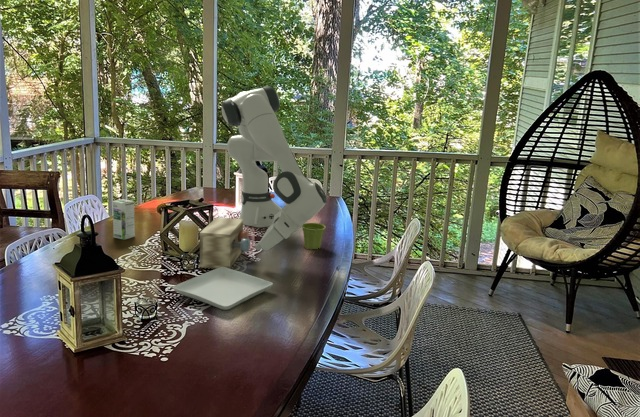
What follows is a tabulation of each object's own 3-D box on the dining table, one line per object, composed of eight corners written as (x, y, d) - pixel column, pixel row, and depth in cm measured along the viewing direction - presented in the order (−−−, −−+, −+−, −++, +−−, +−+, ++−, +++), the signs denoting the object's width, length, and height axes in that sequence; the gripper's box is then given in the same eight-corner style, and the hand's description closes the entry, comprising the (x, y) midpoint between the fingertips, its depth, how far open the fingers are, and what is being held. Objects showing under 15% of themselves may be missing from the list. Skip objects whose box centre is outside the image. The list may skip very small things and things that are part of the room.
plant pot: (327, 246, 192) (329, 224, 190) (319, 252, 184) (321, 230, 182) (305, 242, 195) (306, 221, 193) (296, 249, 187) (297, 227, 185)
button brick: (227, 243, 173) (227, 231, 172) (230, 240, 177) (230, 228, 176) (245, 245, 172) (245, 233, 171) (248, 241, 177) (248, 229, 176)
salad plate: (226, 317, 129) (226, 305, 128) (170, 296, 139) (170, 285, 139) (274, 292, 146) (275, 282, 145) (222, 275, 157) (222, 265, 156)
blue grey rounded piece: (227, 252, 164) (227, 239, 163) (230, 248, 168) (231, 235, 167) (247, 253, 164) (247, 241, 163) (250, 249, 168) (250, 237, 167)
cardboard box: (199, 267, 162) (199, 232, 159) (216, 248, 182) (216, 217, 179) (229, 269, 162) (229, 234, 159) (242, 250, 181) (243, 219, 178)
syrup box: (113, 237, 187) (111, 201, 184) (125, 234, 193) (123, 198, 189) (123, 240, 185) (122, 203, 182) (135, 236, 190) (134, 200, 187)
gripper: (284, 208, 172) (256, 232, 175) (275, 223, 152) (243, 250, 155) (296, 221, 173) (268, 245, 176) (289, 237, 153) (257, 264, 156)
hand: (256, 248), depth 165 cm, fingers closed
